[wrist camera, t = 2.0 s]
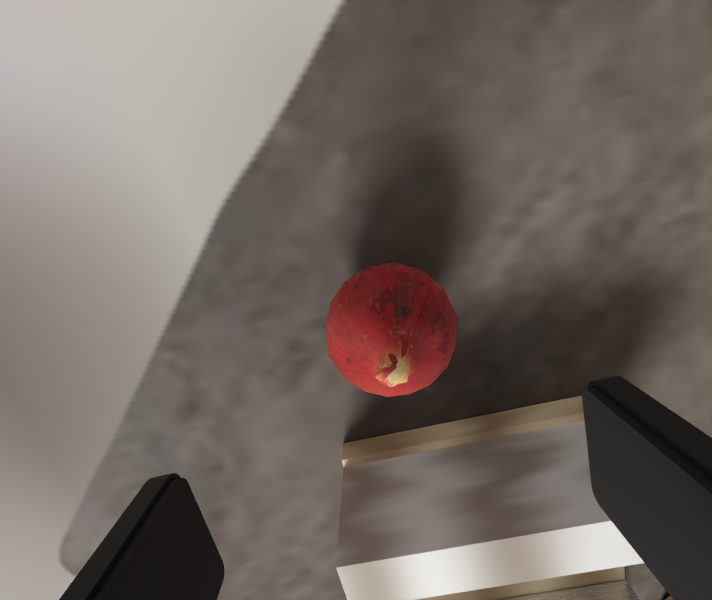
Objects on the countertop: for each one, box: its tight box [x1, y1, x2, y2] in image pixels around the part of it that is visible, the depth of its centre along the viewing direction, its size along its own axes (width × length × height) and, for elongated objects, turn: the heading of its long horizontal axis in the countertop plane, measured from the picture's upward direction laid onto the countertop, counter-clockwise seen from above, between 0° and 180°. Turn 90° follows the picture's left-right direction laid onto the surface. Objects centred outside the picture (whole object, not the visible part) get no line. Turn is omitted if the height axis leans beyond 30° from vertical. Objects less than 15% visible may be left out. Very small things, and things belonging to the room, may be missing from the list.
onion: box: [325, 262, 457, 397], centre depth 17 cm, size 6×6×8 cm
